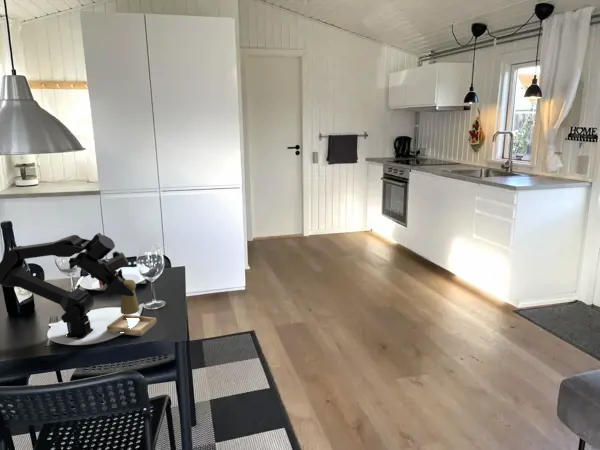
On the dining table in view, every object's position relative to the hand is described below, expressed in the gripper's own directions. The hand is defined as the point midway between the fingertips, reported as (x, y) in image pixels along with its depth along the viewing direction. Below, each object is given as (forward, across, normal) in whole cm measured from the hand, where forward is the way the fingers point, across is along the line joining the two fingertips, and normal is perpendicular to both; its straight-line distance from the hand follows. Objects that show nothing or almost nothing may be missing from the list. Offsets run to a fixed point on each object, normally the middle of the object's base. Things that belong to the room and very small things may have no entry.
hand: (132, 292), depth 154 cm
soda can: (+4, +41, +15) cm, 44 cm away
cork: (+4, 0, +6) cm, 7 cm away
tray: (+8, 0, +10) cm, 13 cm away
